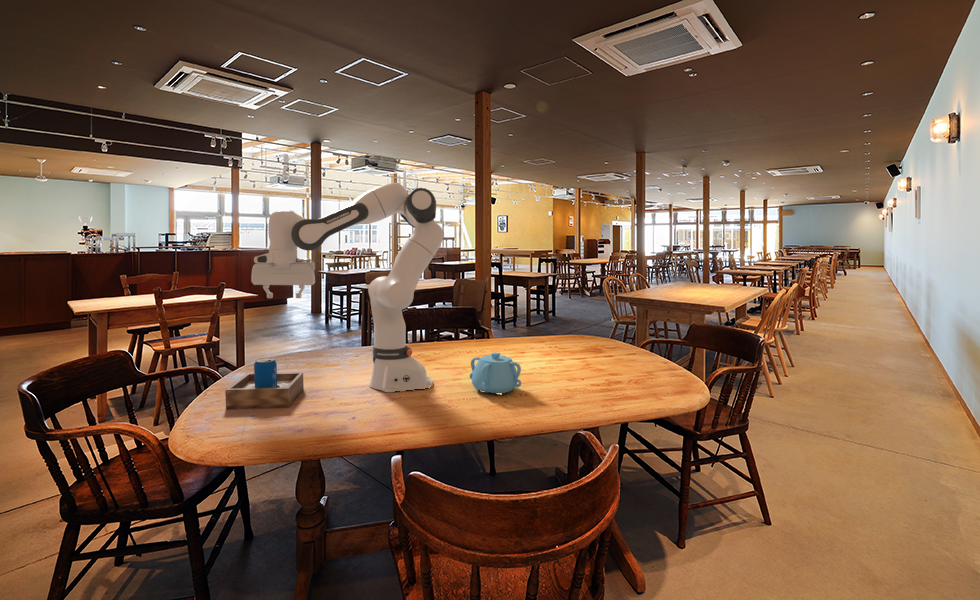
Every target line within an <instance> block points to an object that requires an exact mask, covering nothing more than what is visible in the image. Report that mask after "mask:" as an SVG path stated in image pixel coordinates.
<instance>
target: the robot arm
mask: <svg viewBox="0 0 980 600" xmlns="http://www.w3.org/2000/svg"><path fill="white" fill-rule="evenodd" d="M396 214H399V215H400V217H401V218H402V219H403V220H404V221H405V222H406V223H407V224H408V225H409V226H411V228H414V229H413V231H412V233H411V235H410V237H409V238H408V239H407V241H406V242H405V243H404V245H403V246H402V247H401V249H400V250H399V252H398V253H397V255H396V256H395V259H394V263H393V265H392V268H391V270H390V272H389V274H387V275H382V276H378V277H376V278H375V279H373V280H372V281H371V282H370V284H369V286H368V289H367V291H368V292H367V293H368V296H369V299H370V307H371V314H372V321H373V347H372V362H373V366H372V375H371V378H370V382H369V387H370V388H371V389H375V390H379V391H382V392H383V393H396V392H395V391H400V392H407V391H406V390H413V391H415V390H414V389H424V388H429V387H430V386H432V387H433V385H434V383H433V382H434V381H433V379H432V378H431V377H430V376H429V375H427V370H426V367H425V366H424V363H423V364H422V363H421V362H420V361H419V360H417V359H416V358H414V357H413V356H412V354H413V350H412V348H411V346H408V345H407V344H406V343H407V342H406V339H407V338H406V334H407V333H406V330H407V329H406V328H407V327H406V322H405V319H404V316H403V310H405V309H407V308H409V306H410V305H411V304H412V303H413V300H414V298H415V297H414V293H415V290H416V288H417V286H418V283H419V281H420V279H421V277H422V275H423V273H424V272H425V270H426V268H427V267H428V266H429V264H430V263H431V262H432V261H433V260H432V259H434V257H435V256H436V253H437V252H438V250H439V249H440V247H441V244H442V242H443V240H444V238H445V232H444V230H443V228H442V227H441V226H440V225H439V224H438V223H437V222H436V221H435V219H436V215H437V200H436V198H435V195H434V194H433V192H432V191H431V190H429V189H427V188H425V187H417V188H415V189H412V190H411V191H410V192H408V191H407V190H406V188H405V187H404V186H403V185H402V184H401V183H399V182H389V183H386V184H382V185H380V186H376V187H375V188H372V189H369V190H368V191H365V192H363V194H361V195H358V196H357V197H356V198H355V199H353V200H352V201H351V202H350V203H349V204H348V205H346V206H345V207H343V208H341V209H339V210H337V211H335V212H331V213H330V214H328V215H324V216H322V217H320V218H315V219H314V218H312V219H311V218H308V219H307V218H305V217H303V216H301V215H299V214H297V213H296V212H295V211H293V210H290V209H287V210H285V209H284V210H277V211H274V212H272V213H271V214H270V216H269V218H268V238H269V246H268V253H264V254H263V253H262V254H261V255H256V256H254V258H253V262H254V264H253V266H252V269H251V276H250V279H251V280H250V281H251V283H252V284H253V285H254V286H256V285H257V286H262V288H263V290H264V291H265V294H266V299H273V297H274V293H273V292H271V291H270V289H269V288H270V286H298V288H299V291H298V292H296V293H295V299H302V293H303V291H304V290H305V286H314V285H315V283H316V275H315V270H316V263H315V261H314V260H312V259H311V258H298V248H299V249H301V250H304V251H314V250H316V249H318V248H320V247H321V246H322V245H323V243H324V242H325V241H326V240H327V239H328V238H329V237H330V236H333V235H335V234H336V233H339V232H341V231H343V230H346V229H347V228H350V227H353V226H357V225H368V224H373V223H378V222H380V221H382V220H384V219H387V218H388V217H391V216H393V215H396ZM432 384H433V385H432ZM429 389H430V388H429Z"/></svg>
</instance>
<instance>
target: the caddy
mask: <svg viewBox="0 0 980 600" xmlns="http://www.w3.org/2000/svg"><path fill="white" fill-rule="evenodd" d="M304 388H305V387H304V372H277V388H255V379H254V373H246V374H245V375H243V376H242V377H240V378H239V379H238V380H237V381H235V382H234V383H232V384H231V385H230V386H229V387H227V388H225V390H224V392H225V410H242V409H244V408H249V409H279V408H280V409H281V408H282V407H283V408H284V407H287V408H290V407H291V405H292V404H293V403H295V401H296V400H297V398H298V397H299V396H300V394H301V393H302V392H303V391H304ZM238 408H240V409H238ZM241 408H242V409H241ZM244 410H245V409H244Z"/></svg>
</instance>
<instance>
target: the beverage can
mask: <svg viewBox="0 0 980 600" xmlns="http://www.w3.org/2000/svg"><path fill="white" fill-rule="evenodd" d="M277 367H278V366H277V361H276V359H275V357H260V358H256V359H255V362H254V364H253V371H254V379H255V388H277V373H278V370H277Z"/></svg>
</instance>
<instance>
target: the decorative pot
mask: <svg viewBox="0 0 980 600" xmlns="http://www.w3.org/2000/svg"><path fill="white" fill-rule="evenodd" d="M475 361H477V363H476V362H475ZM475 363H476V364H475ZM470 367H471V373H470V374H469V379H471V384H472V386H473V387H474V389H475V390H477V391H479V390H481V391H485V392H484V393H489V392H490V393H489V394H491V393H492V394H495V393H503V394H506V392H507V393H510V392H511V391H513V390H514V389H515V388H520V387H521V386H522V381H521V379H519V377H520V374H521V372H522V371H521V370H522V366H521V365H520V364H519V363H518V362H516V361H514V360H513V359H512V358H511V357H508V356H506V355H501V353H500V352H497V351H496V352H490V354H488V355H484V356H482V357H480V356H475V357H473V358H472V359H471V360H470ZM512 389H513V390H512ZM509 391H510V392H509Z"/></svg>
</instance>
